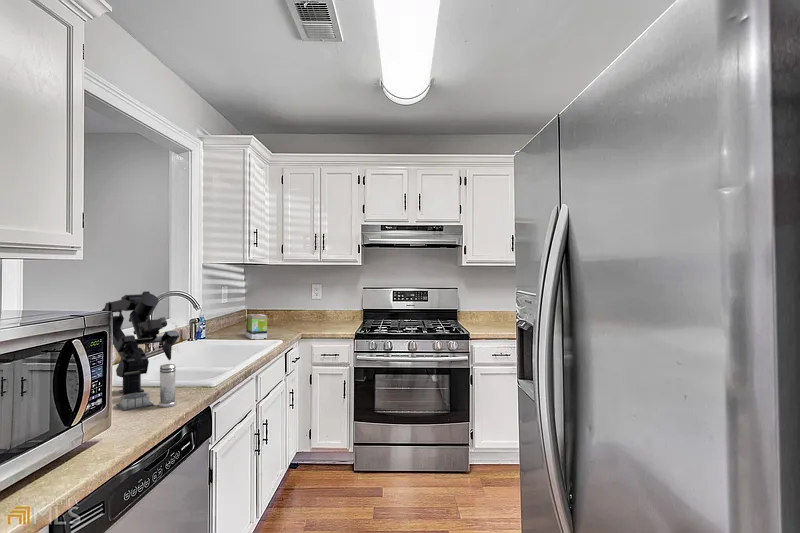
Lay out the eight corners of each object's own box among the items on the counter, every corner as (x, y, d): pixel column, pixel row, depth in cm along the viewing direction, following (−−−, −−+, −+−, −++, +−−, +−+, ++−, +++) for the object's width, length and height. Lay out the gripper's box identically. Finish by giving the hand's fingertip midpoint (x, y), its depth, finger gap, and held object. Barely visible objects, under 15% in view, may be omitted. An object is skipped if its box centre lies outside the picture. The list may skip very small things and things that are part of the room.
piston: (156, 405, 156) (157, 365, 156) (172, 402, 160) (173, 363, 160) (162, 408, 152) (162, 367, 152) (178, 405, 156) (178, 365, 156)
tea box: (267, 339, 300) (267, 315, 300) (251, 340, 295) (251, 316, 295) (261, 335, 313) (261, 313, 313) (245, 336, 308) (246, 313, 308)
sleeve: (116, 405, 156) (116, 395, 156) (145, 400, 162) (145, 391, 162) (124, 411, 150) (124, 401, 150) (153, 405, 156) (153, 396, 156)
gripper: (121, 311, 156) (135, 351, 149) (177, 308, 170) (192, 344, 164) (110, 332, 161) (123, 371, 155) (166, 327, 176) (180, 362, 169)
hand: (156, 361), depth 161 cm, fingers open, 9 cm apart
